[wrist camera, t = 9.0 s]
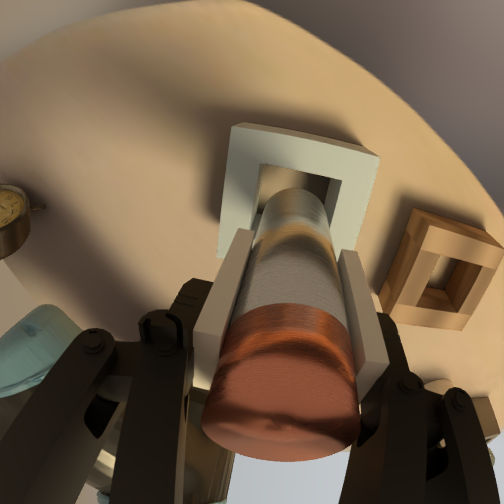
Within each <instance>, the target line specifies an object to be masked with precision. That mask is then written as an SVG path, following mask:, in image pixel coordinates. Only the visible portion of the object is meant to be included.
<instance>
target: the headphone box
mask: <svg viewBox="0 0 504 504" xmlns="http://www.w3.org/2000/svg"><path fill="white" fill-rule="evenodd" d="M472 401H473V404H474V407H475V410H476V412H477V415H478V418H479V421H480V424H481V427H482V430H483V434H484V437H485V440H486V443H487V444H488V443H489V442H491V441H492V440H493V439H494V438H496V437H497V436H498V435H499V434H500V430H499V426H498V423H497V420H496V417H495V414H494V411H493V409H492V406H491V403H490V400H489V398H488V397H482V398H472Z"/></svg>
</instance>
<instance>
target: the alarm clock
mask: <svg viewBox="0 0 504 504" xmlns="http://www.w3.org/2000/svg"><path fill="white" fill-rule="evenodd" d="M40 208H42V209H44V208H45V204H42V205H33V206H31V205H30V204H29V197H28V195H27V193H26V192H25V191H24V190H22V189H21V188H19V187H17V186H14V185H10V184H0V260H1V259H4V258H6V257H8V256H10V255H11V254H13V253H14V252H16V251H17V250H18V249H19V248H20V247H21V246H22V245H23V243H24V242H25V241H26V239H27V237H28V235H29V232H30V212H31V211H36V210H38V209H40Z"/></svg>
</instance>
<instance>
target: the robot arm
mask: <svg viewBox="0 0 504 504" xmlns="http://www.w3.org/2000/svg"><path fill="white" fill-rule="evenodd" d="M254 234H255V231H252V230H247V229H242V228H238V230H237V232H236V234H235V236H234V238H233V241H232V243H231V245H230V247H229V249H228V252H227V254H226V256H225V258H224V261H223V263H222V265H221V267H220V270H219V272H218V274H217V276H216V279H215V281H214V282H209V281H205V280H200V279H196V278H192V279H191V280H189V281H188V282H186V283H185V284H183V286H182V288H181V289H180V291H179V293H178V295H177V296H176V298H175V300H174V303H173V304H172V305H171V307H170V309H169V310H155V311H151V312H149V313H147V314H146V315H144V316H143V317H142V318H141V320H140V321H139V323H138V325H139V331H140V337H141V341H138V342H121V341H115V340H114V338H113V336H112V335H111V333H109V332H108V331H106V330H104V329H99V328H92V329H87V330H85V331H83V330H82V329H81V328H80V327H79V326H77V325H76V324H75V323H74V322H73V321H72V320H71V319H70V318H69V317H68V316H67V315H66V314H65V313H64V312H63V311H62V310H61V309H60V308H58V307H57V306H54V305H51V304H44V305H40V306H38V307H37V308H35V309H34V310H32V311H31V312H30V313H29V314H28V315H26V316H25V317H24V318H23V319H21V321H19V322H18V323H17V324H16V325H14V326H13V327H12V328H11V329H10V330H9V331H7V332H6V333H5V334H4V335H3V336H2V337H1V338H0V504H75V503H76V500H77V498H78V496H79V494H80V492H81V490H82V488H83V486H84V484H85V483H86V484H88V485H90V486H92V487H94V488H96V489H98V490H99V491H98V492H97V496H98V498H97V500H98V503H99V504H226V502H227V494H228V489H229V484H230V479H231V473H232V468H233V463H234V458H235V452H233V451H230V450H228V449H226V448H224V447H222V446H220V445H219V444H217V443H216V442H214V441H213V440H212V439H210V438H209V437H208V436H207V435H206V433H205V432H204V431H203V429H202V426H201V416H202V413H203V409H204V406H205V403H206V399H207V396H208V393H209V389H210V386H211V383H212V380H213V376H214V373H215V370H216V366H217V363H218V360H219V357H220V354H221V350H222V347H223V344H224V340H225V337H226V334H227V330H228V327H229V324H230V321H231V317H232V314H233V311H234V307H235V304H236V301H237V297H238V294H239V291H240V288H241V284H242V281H243V278H244V274H245V271H246V268H247V264H248V261H249V258H250V254H251V251H252V246H253V240H254ZM337 265H338V270H339V275H340V280H341V285H342V291H343V296H344V302H345V307H346V313H347V319H348V325H349V332H350V338H351V345H352V352H353V359H354V367H355V375H356V383H357V392H358V401H359V404H361V414H360V424H361V431H360V435H359V436H358V438H357V439H356V440H355V442H354V443H352V445H351V451H350V456H349V461H348V466H347V470H346V475H345V480H344V483H343V488H342V492H341V496H340V500H339V504H500V499H499V493H498V488H497V483H496V478H495V474H494V470H493V466H492V462H491V458H490V454H489V450H488V447H487V443H486V440H485V437H484V434H483V430H482V427H481V424H480V421H479V418H478V415H477V412H476V410H475V407H474V404H473V401H472V399H471V398H470V396H469V395H468V394H467V393H466V392H465V391H464V390H462V389H461V388H457V387H453V388H449V389H448V390H447V391H446V393H445V394H444V395H441V394H438V393H435V392H432V391H429V390H427V389H425V387H424V384H423V382H422V380H421V379H420V378H419V377H418V376H417V375H416V374H414V373H413V372H410V370H409V367H408V363H407V359H406V356H405V353H404V349H403V346H402V343H401V340H400V336H399V335H398V330H397V327H396V324H395V322H394V321H393V320H392V318H391V317H390V316H389V315H388V314H386V313H380V312H376V310H375V306H374V303H373V299H372V296H371V293H370V290H369V286H368V283H367V280H366V277H365V274H364V271H363V268H362V265H361V262H360V259H359V256H358V253H357V252H356V251H351V250H346V249H341V252H340V255H339V258H338V261H337ZM443 439H444V441H445V445H446V446H444V447H442V446H441V444H440V442H441V441H442V440H443Z"/></svg>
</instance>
